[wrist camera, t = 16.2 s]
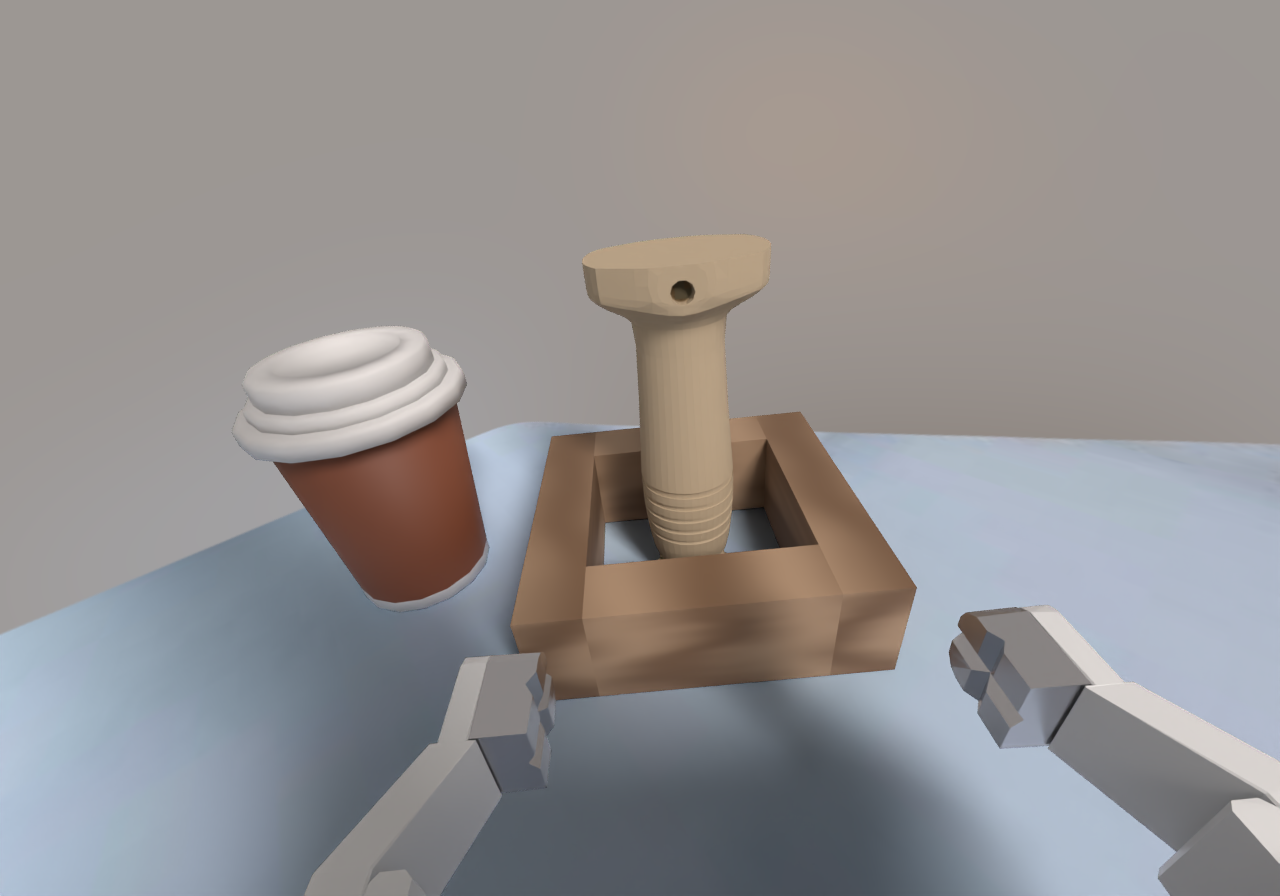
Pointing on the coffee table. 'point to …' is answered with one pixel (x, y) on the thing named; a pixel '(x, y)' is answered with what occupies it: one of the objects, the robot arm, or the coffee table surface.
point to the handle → (682, 372)
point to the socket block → (708, 574)
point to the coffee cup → (374, 457)
